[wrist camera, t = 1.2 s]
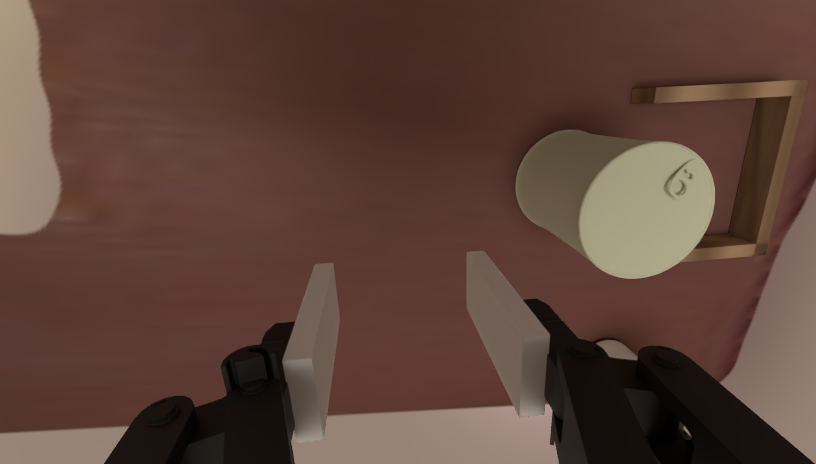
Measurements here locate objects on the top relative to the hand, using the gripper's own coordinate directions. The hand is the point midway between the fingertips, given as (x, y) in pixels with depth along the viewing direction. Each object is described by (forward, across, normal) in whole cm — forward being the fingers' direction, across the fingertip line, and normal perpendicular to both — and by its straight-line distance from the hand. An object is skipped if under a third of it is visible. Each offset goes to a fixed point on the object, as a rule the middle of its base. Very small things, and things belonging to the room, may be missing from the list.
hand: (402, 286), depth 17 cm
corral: (+19, +28, 0) cm, 34 cm away
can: (+19, +16, 0) cm, 25 cm away
